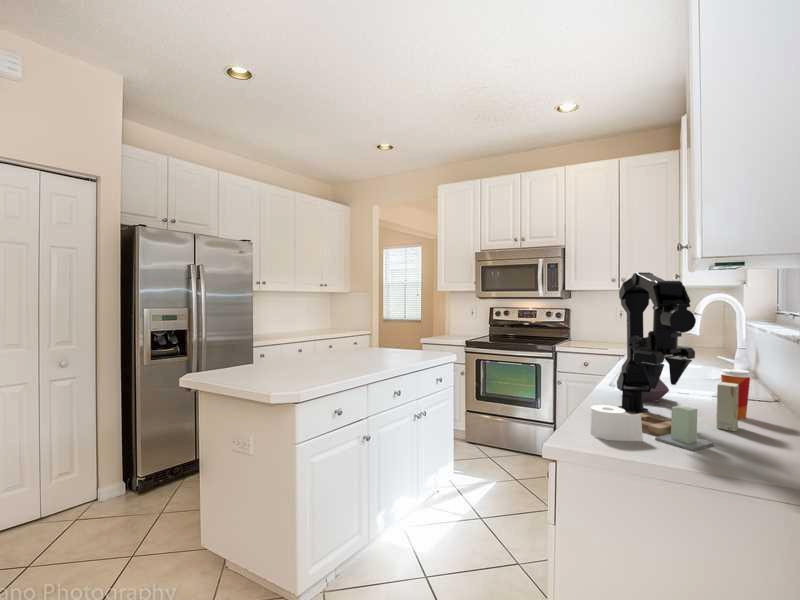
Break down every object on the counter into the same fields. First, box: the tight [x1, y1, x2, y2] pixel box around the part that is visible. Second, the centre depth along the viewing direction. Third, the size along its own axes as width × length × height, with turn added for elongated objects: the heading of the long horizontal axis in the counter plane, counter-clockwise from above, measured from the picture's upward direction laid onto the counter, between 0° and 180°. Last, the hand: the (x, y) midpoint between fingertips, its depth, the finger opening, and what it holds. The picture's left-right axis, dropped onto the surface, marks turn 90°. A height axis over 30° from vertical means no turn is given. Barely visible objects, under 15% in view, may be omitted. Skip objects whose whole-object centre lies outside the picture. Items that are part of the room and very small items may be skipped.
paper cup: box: [719, 368, 752, 420], centre depth 136 cm, size 8×8×14 cm
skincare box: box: [716, 382, 739, 432], centre depth 125 cm, size 6×4×12 cm
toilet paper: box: [589, 404, 644, 442], centre depth 117 cm, size 8×11×7 cm
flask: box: [624, 378, 670, 403], centre depth 158 cm, size 16×16×20 cm
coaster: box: [654, 433, 714, 452], centre depth 112 cm, size 9×9×1 cm
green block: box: [670, 404, 698, 444], centre depth 112 cm, size 4×4×8 cm
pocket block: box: [633, 412, 671, 437], centre depth 124 cm, size 12×12×2 cm
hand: (663, 386), depth 119 cm, fingers open, 9 cm apart
